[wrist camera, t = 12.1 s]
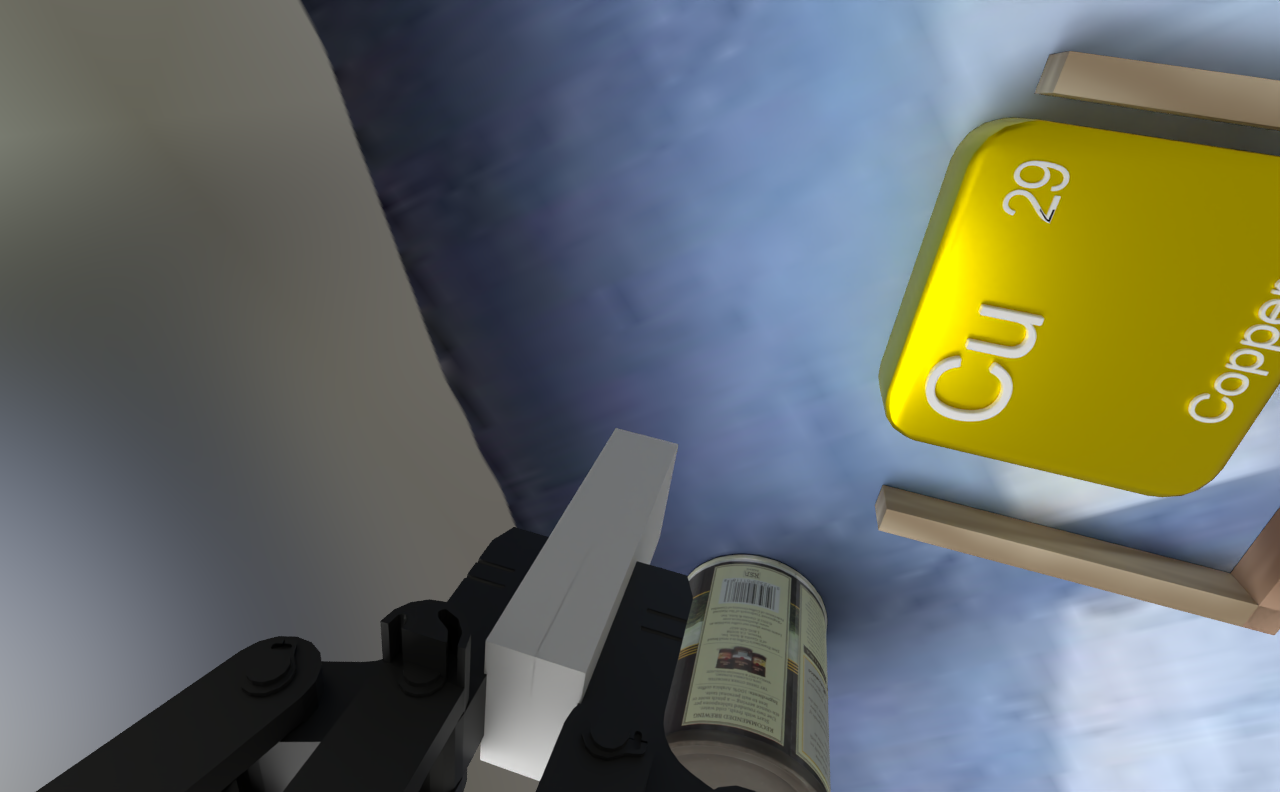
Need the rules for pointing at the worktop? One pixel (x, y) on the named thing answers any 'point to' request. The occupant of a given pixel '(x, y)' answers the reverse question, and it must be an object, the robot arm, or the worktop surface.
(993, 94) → the worktop surface
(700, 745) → the coffee can
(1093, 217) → the element tile
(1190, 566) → the wooden bay
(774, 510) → the worktop surface
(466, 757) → the robot arm
